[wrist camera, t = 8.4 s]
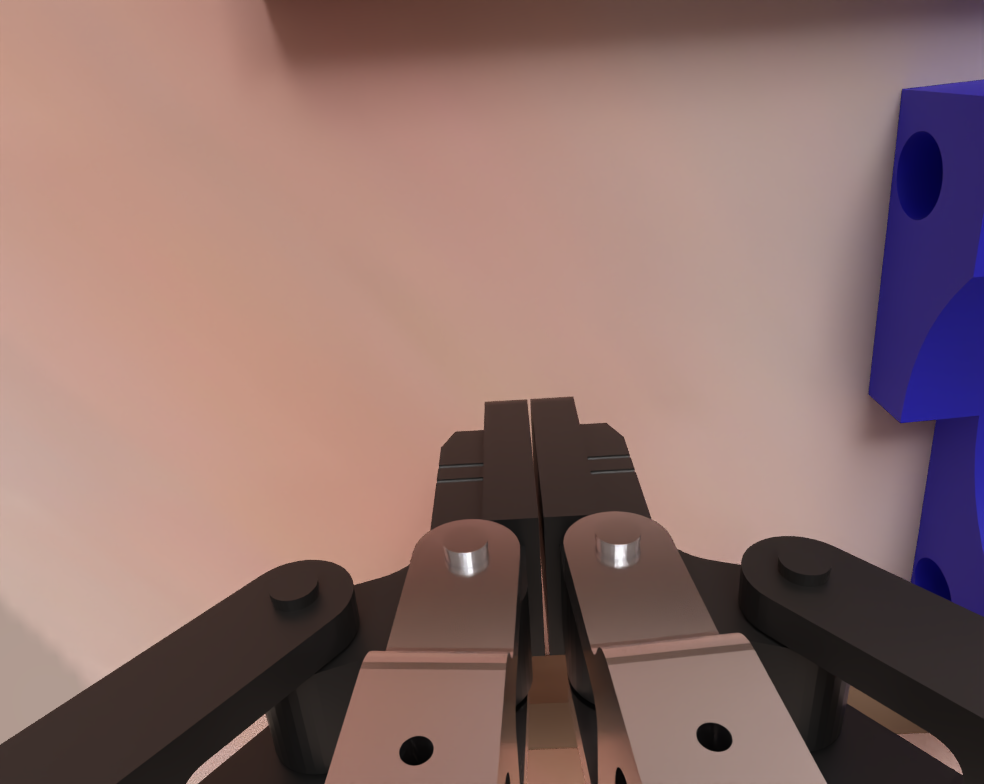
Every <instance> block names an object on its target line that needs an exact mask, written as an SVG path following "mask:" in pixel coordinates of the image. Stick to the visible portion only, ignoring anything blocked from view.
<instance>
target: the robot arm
mask: <svg viewBox="0 0 984 784" xmlns="http://www.w3.org/2000/svg"><path fill="white" fill-rule="evenodd" d="M531 425H532V445H533V456H532V446H531V436H530V425H529V415H528V405H527V400H510V401H493V402H485V416H484V430H478V431H461V432H455V433H454V434H453V435H452V436H451V437H450V438H449V440H448V441H447V442H446V443H445V444H444V445H443V446H442V447H441V453H440V460H439V469H438V476H437V483H436V491H435V499H434V507H433V514H432V522H431V530H430V531H429V532H428V533H426V534H425V535H424V536H423V537H422V538H421V539H420V540H419V541H418V543H417V544H416V546H415V548H414V551H413V554H412V558H411V561H410V564H409V565H408V566H407V567H405V568H403V569H401V570H400V571H397V572H395V573H393V574H391V575H388V576H385V577H382V578H378V579H375V580H371V581H367V582H364V583H360V584H357V585H353V580H352V578H351V576H350V574H349V573H348V572H347V571H346V570H345V569H344V568H342V567H341V566H339V565H337V564H335V563H332V562H328V561H322V560H304V561H297V562H292V563H288V564H285V565H282V566H279V567H277V568H274V569H272V570H270V571H268V572H266V573H265V574H263V575H261V576H260V577H258V578H257V579H255V580H253V581H252V582H250V583H249V584H247V585H246V586H244V587H243V588H241V589H240V590H238V591H236V592H235V593H233V594H232V595H230V596H229V597H227V598H226V599H224V600H223V601H221V602H220V603H218V604H216V605H215V606H213V607H212V608H210V609H209V610H207V611H206V612H204V613H203V614H201V615H199V616H198V617H196V618H195V619H193V620H192V621H190V622H189V623H187V624H186V625H184V626H183V627H181V628H179V629H178V630H176V631H175V632H173V633H172V634H170V635H169V636H167V637H166V638H164V639H163V640H161V641H159V642H158V643H156V644H155V645H153V646H152V647H150V648H149V649H147V650H146V651H144V652H142V653H141V654H139V655H138V656H136V657H135V658H133V659H132V660H130V661H129V662H127V663H126V664H124V665H122V666H121V667H119V668H118V669H116V670H115V671H113V672H112V673H110V674H109V675H107V676H105V677H104V678H102V679H101V680H99V681H98V682H96V683H95V684H93V685H92V686H90V687H89V688H87V689H85V690H84V691H82V692H81V693H79V694H78V695H76V696H75V697H73V698H72V699H70V700H69V701H67V702H66V703H64V704H62V705H61V706H59V707H58V708H56V709H55V710H53V711H52V712H50V713H49V714H47V715H45V716H44V717H42V718H41V719H39V720H38V721H36V722H35V723H33V724H32V725H30V726H28V727H27V728H25V729H24V730H22V731H21V732H19V733H18V734H16V735H15V736H13V737H12V738H10V739H8V740H7V741H5V742H4V743H2V744H1V745H0V784H186V783H187V781H188V780H189V778H190V777H191V776H192V774H193V773H194V772H195V771H196V770H197V769H198V768H199V767H200V766H201V765H202V764H203V763H205V762H206V761H207V760H208V759H210V758H211V757H212V756H213V755H215V754H216V753H217V752H218V751H219V750H221V749H222V748H223V747H224V746H226V745H227V744H228V743H229V742H231V741H232V740H233V739H234V738H236V737H237V736H238V735H239V734H240V733H242V732H243V731H244V730H245V729H247V728H248V727H249V726H250V725H252V724H253V723H254V722H255V721H257V720H258V719H259V718H260V717H261V716H263V715H264V714H265V713H266V717H267V721H268V724H269V726H267V727H266V728H265V729H264V730H263V731H261V732H260V733H259V734H258V735H256V736H255V737H254V738H253V739H252V740H250V741H249V742H248V743H247V744H246V745H244V746H243V747H242V748H241V749H240V750H238V751H237V752H236V753H235V754H233V755H232V756H231V757H230V758H229V759H227V760H226V761H225V762H224V763H223V764H221V765H220V766H219V767H218V768H216V769H215V770H214V771H213V772H212V773H210V774H209V775H208V776H207V777H206V778H204V779H203V780H202V781H201V782H200V783H198V784H527V768H528V741H529V714H530V703H529V690H530V688H531V685H532V681H533V669H532V657H533V656H545V645H544V623H543V602H542V581H541V568H542V578H543V589H544V599H545V610H546V621H547V631H548V642H549V652H550V655H565V656H566V664H567V675H568V702H569V708H570V713H571V718H572V723H573V727H574V732H575V737H576V742H577V746H578V751H579V756H580V761H581V765H582V770H583V775H584V780H585V784H984V617H983V616H981V615H979V614H977V613H974V612H972V611H970V610H968V609H966V608H964V607H962V606H960V605H957V604H955V603H953V602H951V601H949V600H947V599H945V598H943V597H940V596H938V595H936V594H934V593H932V592H930V591H928V590H926V589H923V588H921V587H919V586H917V585H915V584H913V583H911V582H909V581H906V580H904V579H902V578H900V577H898V576H896V575H894V574H891V573H889V572H887V571H885V570H883V569H881V568H879V567H877V566H874V565H872V564H870V563H868V562H866V561H864V560H862V559H860V558H857V557H855V556H853V555H851V554H849V553H847V552H845V551H843V550H840V549H838V548H836V547H834V546H831V545H829V544H827V543H824V542H821V541H817V540H814V539H809V538H804V537H795V536H781V537H772V538H768V539H764V540H761V541H759V542H757V543H755V544H753V545H752V546H750V547H749V548H748V549H747V550H746V552H745V553H744V555H743V558H742V561H741V565H738V564H731V563H725V562H719V561H712V560H707V559H703V558H699V557H695V556H692V555H689V554H687V553H684V552H682V551H680V550H678V549H677V548H676V546H675V544H674V542H673V540H672V538H671V536H670V534H669V533H668V531H667V530H666V529H665V528H664V527H663V526H661V525H660V524H659V523H657V522H655V521H654V520H652V519H651V516H650V513H649V510H648V507H647V504H646V501H645V499H644V496H643V493H642V490H641V487H640V484H639V481H638V478H637V475H636V472H635V471H634V466H633V463H632V460H631V458H630V454H629V451H628V448H627V445H626V442H625V439H624V437H623V436H622V435H621V434H619V433H618V432H617V431H616V430H614V429H613V428H612V427H611V426H609V425H608V424H607V423H597V424H579V420H578V415H577V411H576V407H575V402H574V398H573V397H559V398H542V399H531ZM540 557H541V559H540ZM850 685H851V686H853V687H854V688H856V689H858V690H859V691H861V692H863V693H864V694H866V695H868V696H869V697H871V698H872V699H874V700H876V701H877V702H879V703H881V704H882V705H884V706H886V707H887V708H889V709H891V710H892V711H894V712H896V713H897V714H899V715H901V716H902V717H904V718H906V719H907V720H909V721H911V722H912V723H914V724H916V725H917V726H919V727H921V728H922V729H924V730H926V731H927V732H929V733H930V734H932V735H933V736H935V737H936V738H938V739H939V740H940V741H941V742H942V743H944V744H945V745H946V746H947V747H948V748H949V750H950V751H951V752H952V753H953V754H954V756H955V757H956V759H957V761H958V762H959V764H960V767H961V769H962V773H963V775H961V774H960V773H958V772H956V771H955V770H953V769H951V768H950V767H948V766H947V765H945V764H943V763H942V762H940V761H939V760H937V759H935V758H934V757H932V756H931V755H929V754H927V753H926V752H924V751H923V750H921V749H919V748H918V747H916V746H915V745H913V744H911V743H910V742H908V741H907V740H905V739H903V738H902V737H900V736H899V735H897V734H895V733H894V732H892V731H890V730H889V729H887V728H886V727H884V726H882V725H881V724H879V723H878V722H876V721H874V720H873V719H871V718H870V717H868V716H866V715H865V714H863V713H862V712H860V711H858V710H857V709H855V708H854V707H852V706H850V705H849V704H847V699H848V693H849V688H850Z"/></svg>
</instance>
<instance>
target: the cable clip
mask: <svg viewBox="0 0 984 784" xmlns="http://www.w3.org/2000/svg"><path fill="white" fill-rule="evenodd" d="M868 394H869V395H870V396H871V397H872V398H873V399H874V400H875V401H876V402H877V403H879V404H880V405H881V406H882V407H883V408H884V409H885V410H886V411H887V412H889V413H890V414H891V415H892V416H893V417H894V418H895V419H896V420H897V421H898V422H900V423H907V422H918V421H928V420H936V423H935V430H934V436H933V443H932V449H931V456H930V462H929V469H928V475H927V481H926V488H925V494H924V501H923V507H922V514H921V520H920V527H919V533H918V540H917V546H916V553H915V559H914V565H913V572H912V578H911V583H913V584H915V585H917V586H919V587H921V588H923V589H926V590H928V591H930V592H932V593H934V594H936V595H938V596H940V597H943V598H945V599H947V600H949V601H951V602H953V603H955V604H957V605H960V606H962V607H964V608H966V609H968V610H970V611H972V612H974V613H977V614H979V615H981V616H983V617H984V80H976V81H967V82H959V83H950V84H942V85H933V86H925V87H916V88H908V89H902V94H901V103H900V113H899V122H898V131H897V140H896V149H895V158H894V167H893V176H892V185H891V194H890V203H889V212H888V221H887V230H886V239H885V248H884V257H883V267H882V276H881V285H880V294H879V303H878V312H877V321H876V330H875V339H874V348H873V357H872V366H871V375H870V384H869V393H868Z"/></svg>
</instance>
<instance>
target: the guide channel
mask: <svg viewBox="0 0 984 784" xmlns="http://www.w3.org/2000/svg"><path fill="white" fill-rule="evenodd" d="M532 669H533V681H532V685H531V688H530V690H529V703H530V714H529V741H528V750H535V749H558V748H578V746H577V742H576V737H575V732H574V727H573V723H572V718H571V713H570V708H569V702H568V675H567V664H566V656H565V655H545V656H533V657H532ZM847 704H849V705H850V706H852V707H854V708H855V709H857V710H858V711H860V712H862V713H863V714H865V715H866V716H868V717H870V718H871V719H873V720H874V721H876V722H878V723H879V724H881V725H882V726H884V727H886V728H887V729H889V730H890V731H892V732H894V733H895V734H910V733H929V732H927V731H926V730H924V729H922V728H921V727H919V726H917V725H916V724H914V723H912V722H911V721H909V720H907V719H906V718H904V717H902V716H901V715H899V714H897V713H896V712H894V711H892V710H891V709H889V708H887V707H886V706H884V705H882V704H881V703H879V702H877V701H876V700H874V699H872V698H871V697H869V696H868V695H866V694H864V693H863V692H861V691H859V690H858V689H856V688H854V687H853V686H851V685H850V688H849V693H848V699H847Z"/></svg>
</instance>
